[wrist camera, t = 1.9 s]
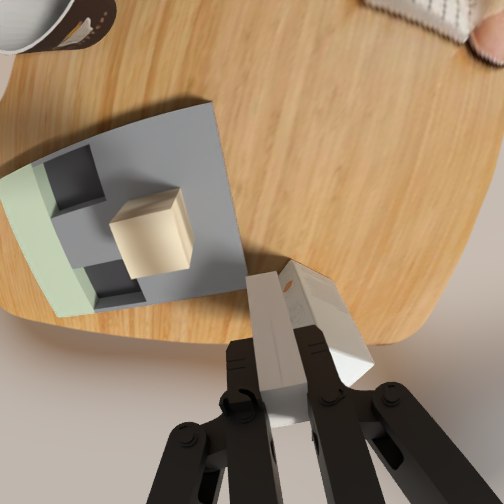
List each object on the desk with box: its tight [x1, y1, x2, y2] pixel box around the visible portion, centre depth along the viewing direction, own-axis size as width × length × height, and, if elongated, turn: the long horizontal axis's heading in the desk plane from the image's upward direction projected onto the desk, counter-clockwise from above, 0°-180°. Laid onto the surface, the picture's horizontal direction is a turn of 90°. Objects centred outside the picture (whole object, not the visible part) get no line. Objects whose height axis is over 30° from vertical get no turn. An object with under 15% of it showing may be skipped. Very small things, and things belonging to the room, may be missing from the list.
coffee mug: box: [0, 0, 117, 55], centre depth 14 cm, size 12×9×10 cm
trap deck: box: [0, 102, 249, 318], centre depth 27 cm, size 24×18×2 cm
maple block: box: [109, 188, 195, 279], centre depth 24 cm, size 5×5×5 cm
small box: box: [278, 259, 374, 387], centre depth 29 cm, size 8×6×13 cm
